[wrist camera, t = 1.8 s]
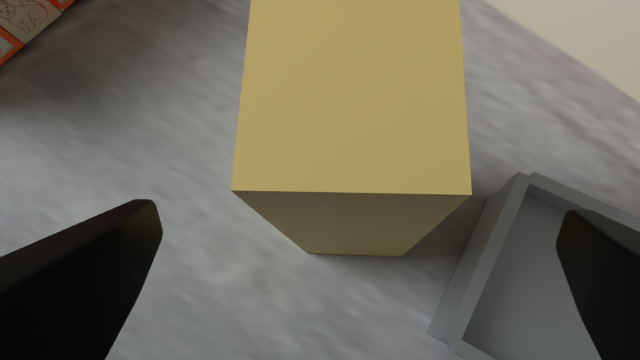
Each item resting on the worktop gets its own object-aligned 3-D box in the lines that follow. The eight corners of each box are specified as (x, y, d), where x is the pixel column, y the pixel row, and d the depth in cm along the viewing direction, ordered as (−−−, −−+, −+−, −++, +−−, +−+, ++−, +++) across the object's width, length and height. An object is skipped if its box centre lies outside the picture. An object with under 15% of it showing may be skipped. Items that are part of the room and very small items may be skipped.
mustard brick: (401, 256, 19) (471, 194, 7) (306, 253, 19) (230, 190, 8) (400, 165, 20) (458, -11, 8) (311, 164, 20) (251, -4, 9)
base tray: (588, 428, 16) (665, 473, 12) (422, 334, 18) (441, 345, 14) (645, 267, 17) (730, 258, 13) (486, 193, 19) (521, 166, 15)
